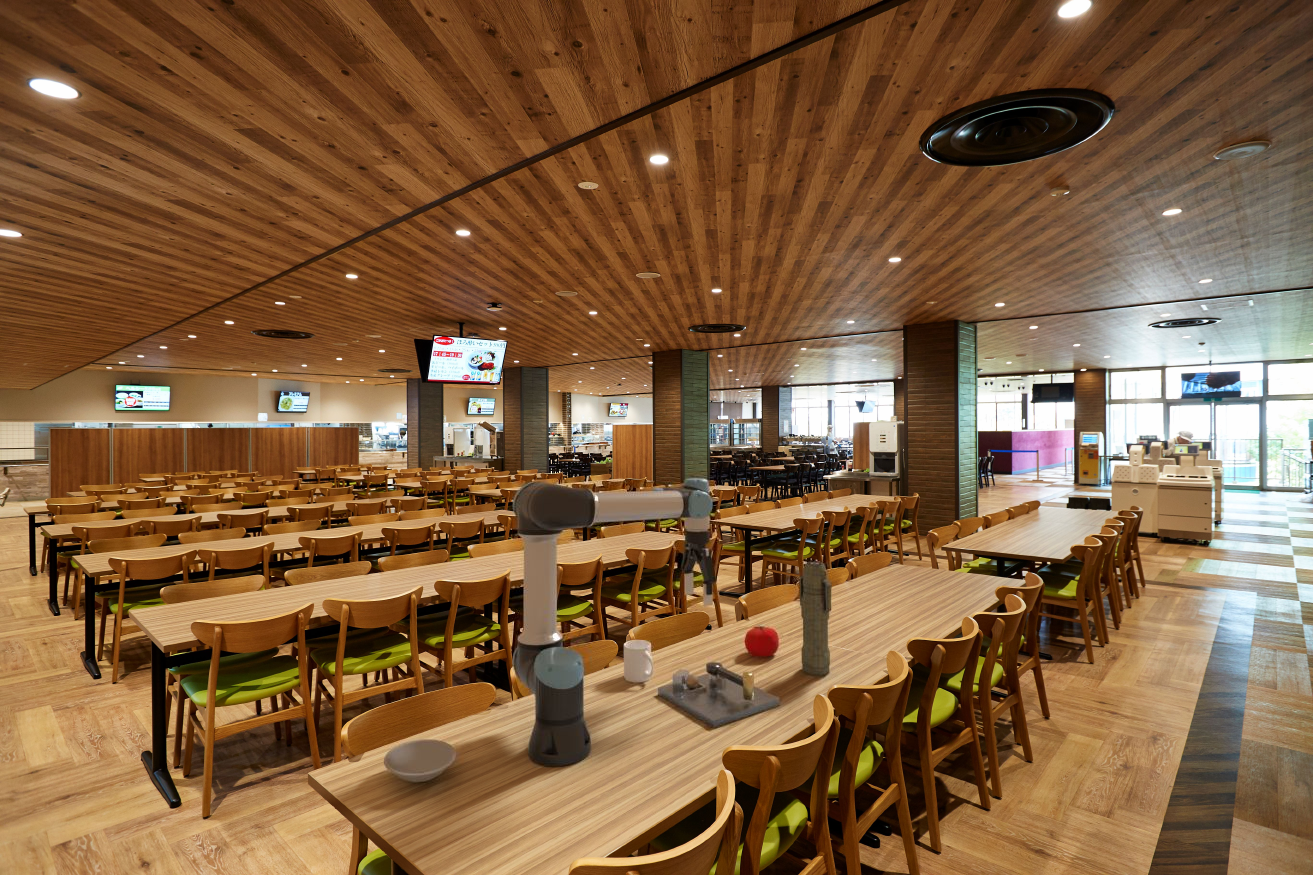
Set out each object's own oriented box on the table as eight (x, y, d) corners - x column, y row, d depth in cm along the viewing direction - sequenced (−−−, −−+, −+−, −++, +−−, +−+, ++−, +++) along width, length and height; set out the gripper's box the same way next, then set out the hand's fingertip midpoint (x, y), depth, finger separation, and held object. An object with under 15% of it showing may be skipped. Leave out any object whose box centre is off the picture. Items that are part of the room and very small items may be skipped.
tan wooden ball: (691, 692, 180) (691, 678, 180) (683, 687, 183) (682, 674, 183) (702, 689, 182) (701, 675, 182) (693, 684, 185) (693, 671, 185)
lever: (745, 702, 170) (745, 677, 170) (702, 680, 186) (702, 657, 186) (758, 698, 173) (758, 673, 173) (715, 676, 188) (715, 654, 188)
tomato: (786, 657, 213) (785, 627, 213) (753, 663, 208) (753, 632, 208) (768, 647, 223) (768, 619, 223) (737, 652, 218) (737, 623, 218)
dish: (370, 778, 139) (370, 756, 139) (429, 752, 151) (429, 732, 151) (410, 807, 128) (410, 783, 128) (470, 777, 139) (470, 755, 139)
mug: (641, 689, 187) (641, 653, 187) (618, 677, 197) (618, 643, 197) (663, 681, 193) (663, 647, 193) (640, 670, 202) (639, 637, 202)
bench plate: (713, 728, 162) (713, 705, 162) (657, 694, 183) (657, 674, 183) (779, 705, 175) (779, 683, 175) (720, 676, 197) (720, 657, 197)
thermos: (824, 679, 193) (823, 567, 193) (792, 669, 202) (791, 562, 202) (839, 672, 199) (838, 563, 199) (808, 662, 208) (807, 558, 208)
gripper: (727, 534, 177) (728, 608, 177) (691, 523, 200) (692, 588, 200) (703, 536, 174) (704, 611, 174) (670, 525, 198) (671, 591, 198)
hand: (698, 599), depth 187 cm, fingers open, 13 cm apart
